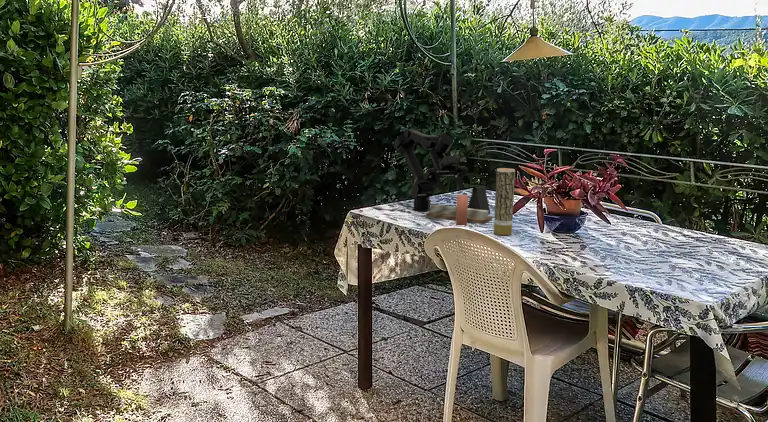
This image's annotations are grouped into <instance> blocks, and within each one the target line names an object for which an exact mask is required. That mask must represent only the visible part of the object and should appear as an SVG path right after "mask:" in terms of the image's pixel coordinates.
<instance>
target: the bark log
mask: <svg viewBox="0 0 768 422" xmlns="http://www.w3.org/2000/svg"><path fill="white" fill-rule="evenodd" d="M495 178H496V179H495V199H494V201H495V203H494V221H493V233H494V235H498V236H504V237H505V236H511V235H512V233H513V232H512V231H513V220H514V219H513V218H514V217H513V216H514V215H513V214H514V198H515V181H516V179H515V178H516V169H514V168H509V167H508V168H506V167H499V168H496V177H495Z"/></svg>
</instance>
